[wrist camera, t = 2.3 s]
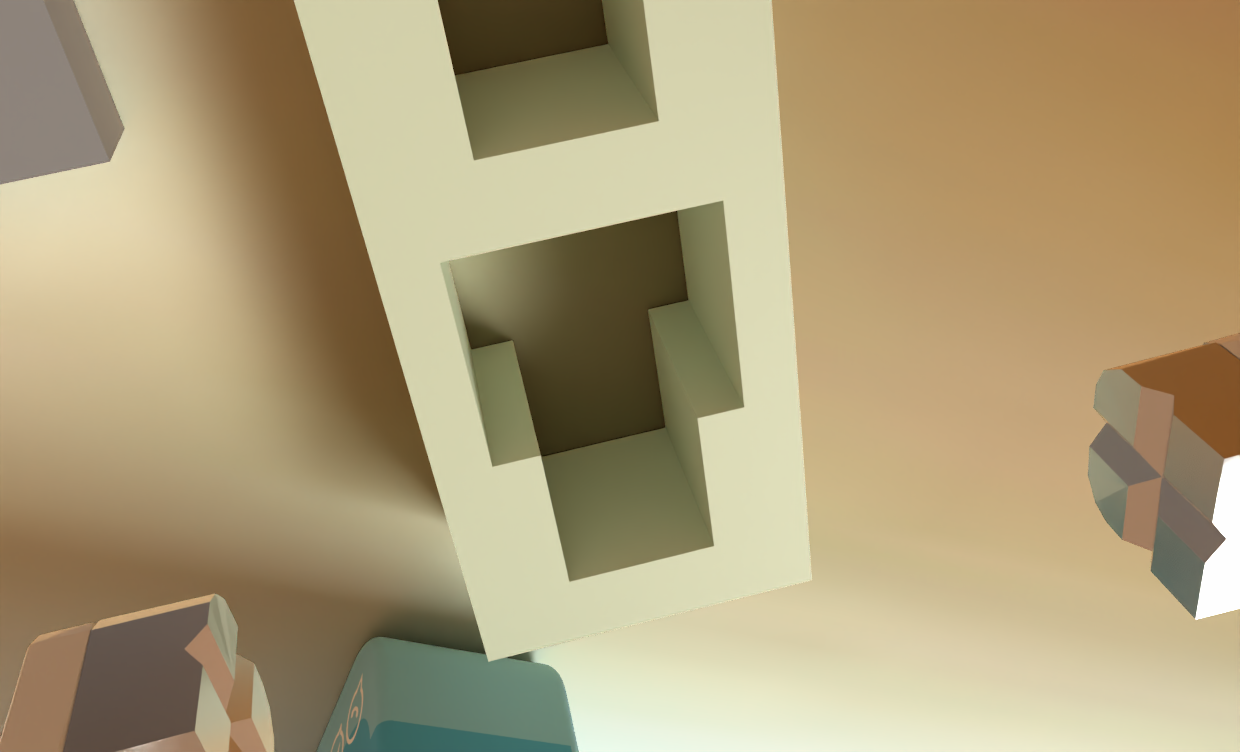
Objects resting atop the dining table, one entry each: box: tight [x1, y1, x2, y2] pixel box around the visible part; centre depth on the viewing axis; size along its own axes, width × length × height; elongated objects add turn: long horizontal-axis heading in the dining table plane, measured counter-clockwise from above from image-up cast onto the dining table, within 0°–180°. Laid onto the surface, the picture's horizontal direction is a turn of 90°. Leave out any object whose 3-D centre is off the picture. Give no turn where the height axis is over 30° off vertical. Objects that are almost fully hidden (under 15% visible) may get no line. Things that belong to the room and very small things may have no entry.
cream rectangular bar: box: [294, 0, 812, 662], centre depth 19 cm, size 18×6×4 cm, turn 8°
